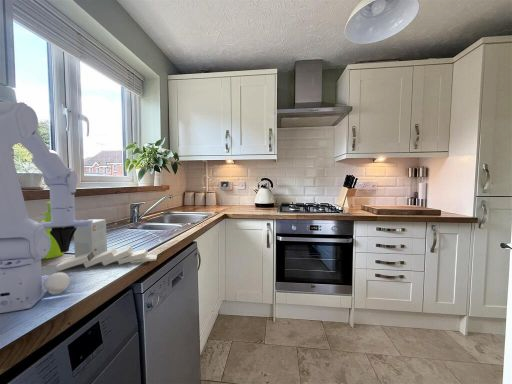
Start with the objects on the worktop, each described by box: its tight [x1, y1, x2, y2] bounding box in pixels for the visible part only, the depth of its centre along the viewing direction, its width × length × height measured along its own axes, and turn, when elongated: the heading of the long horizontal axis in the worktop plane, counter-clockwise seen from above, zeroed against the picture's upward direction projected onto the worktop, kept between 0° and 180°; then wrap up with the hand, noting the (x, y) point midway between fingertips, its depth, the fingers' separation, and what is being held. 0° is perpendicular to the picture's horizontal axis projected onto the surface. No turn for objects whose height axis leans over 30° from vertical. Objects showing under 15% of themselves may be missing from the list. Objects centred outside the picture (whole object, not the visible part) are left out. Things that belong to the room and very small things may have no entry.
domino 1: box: [56, 252, 94, 271], centre depth 72 cm, size 5×2×8 cm
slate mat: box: [41, 260, 130, 277], centre depth 73 cm, size 9×24×1 cm, turn 111°
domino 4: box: [118, 248, 149, 264], centre depth 77 cm, size 5×2×8 cm
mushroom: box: [42, 272, 71, 296], centre depth 56 cm, size 5×5×5 cm
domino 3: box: [102, 246, 134, 266], centre depth 76 cm, size 5×2×8 cm
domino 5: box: [129, 253, 158, 264], centre depth 79 cm, size 5×2×8 cm
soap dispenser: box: [40, 200, 65, 259], centre depth 83 cm, size 6×7×20 cm
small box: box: [73, 218, 108, 258], centre depth 83 cm, size 8×6×13 cm
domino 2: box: [84, 247, 117, 268], centre depth 75 cm, size 5×2×8 cm
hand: (64, 251), depth 71 cm, fingers closed
